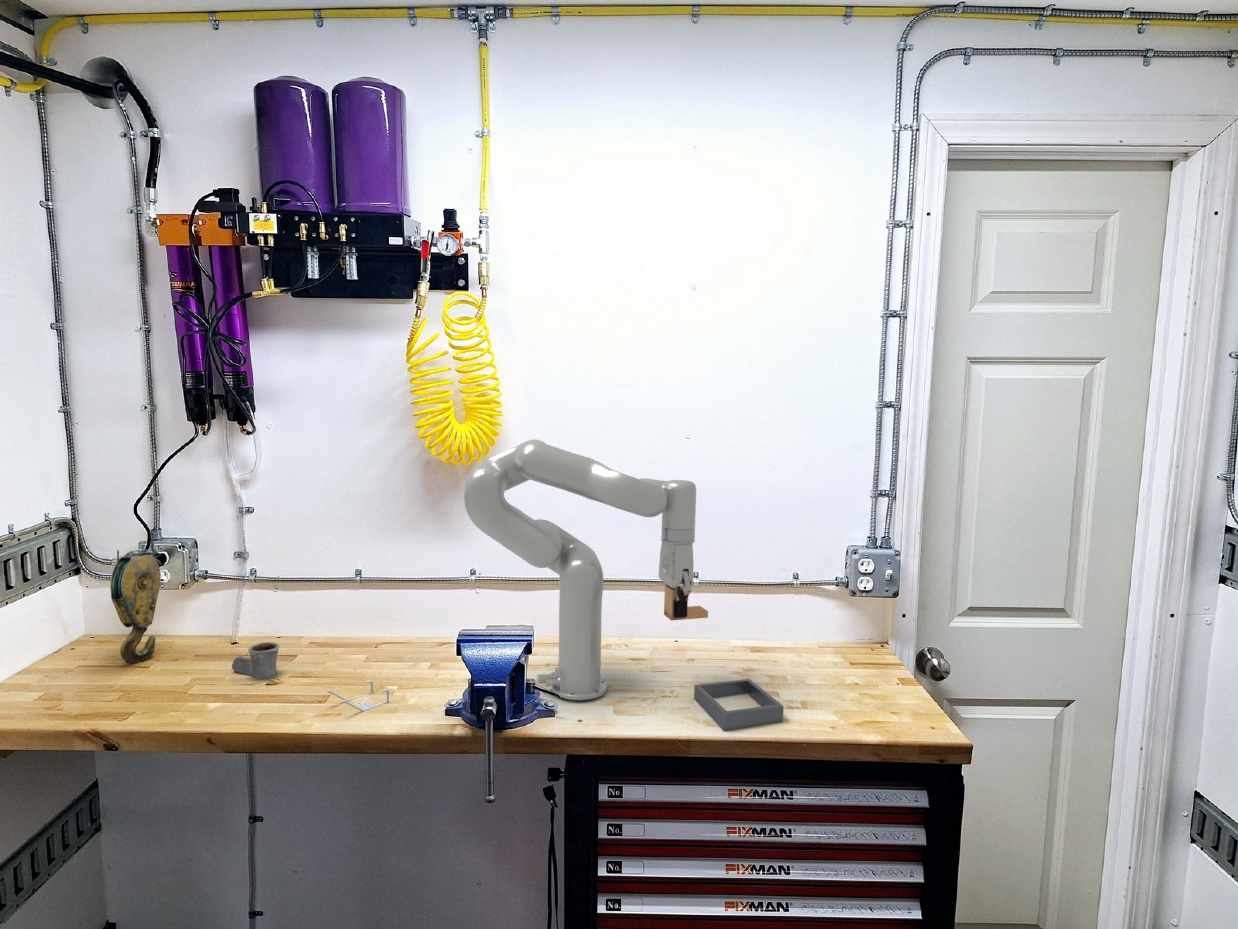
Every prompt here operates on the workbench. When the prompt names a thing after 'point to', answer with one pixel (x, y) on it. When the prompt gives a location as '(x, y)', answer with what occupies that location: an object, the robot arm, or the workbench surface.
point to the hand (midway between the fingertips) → (675, 613)
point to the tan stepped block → (692, 611)
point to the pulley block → (136, 599)
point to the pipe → (258, 661)
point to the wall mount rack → (364, 705)
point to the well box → (742, 717)
